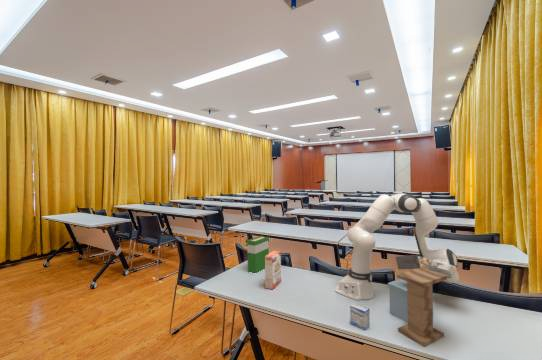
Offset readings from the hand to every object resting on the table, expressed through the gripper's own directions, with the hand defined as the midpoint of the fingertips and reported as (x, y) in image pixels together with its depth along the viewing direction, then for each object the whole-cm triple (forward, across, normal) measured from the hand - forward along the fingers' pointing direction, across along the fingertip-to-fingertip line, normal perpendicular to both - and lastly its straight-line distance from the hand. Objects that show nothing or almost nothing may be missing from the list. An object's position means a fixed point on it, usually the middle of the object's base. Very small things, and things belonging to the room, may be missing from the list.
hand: (424, 259), depth 135 cm
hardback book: (+34, -97, +49) cm, 114 cm away
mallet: (+6, +2, +6) cm, 9 cm away
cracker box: (+37, -66, +50) cm, 91 cm away
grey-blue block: (-1, 0, +29) cm, 29 cm away
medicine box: (+24, -5, +43) cm, 50 cm away
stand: (+7, +13, +34) cm, 37 cm away
